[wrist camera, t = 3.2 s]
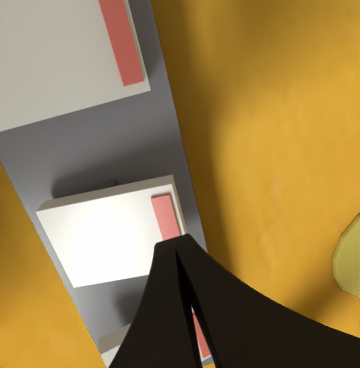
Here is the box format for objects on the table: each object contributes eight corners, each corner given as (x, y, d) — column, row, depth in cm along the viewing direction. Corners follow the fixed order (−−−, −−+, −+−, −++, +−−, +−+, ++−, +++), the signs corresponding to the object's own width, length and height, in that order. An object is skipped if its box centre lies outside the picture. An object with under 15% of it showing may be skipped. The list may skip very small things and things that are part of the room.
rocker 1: (-8, 131, 10) (-16, 136, 9) (-79, -8, 9) (-98, -20, 8) (144, 89, 12) (151, 90, 11) (111, -35, 10) (116, -49, 9)
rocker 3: (122, 387, 17) (126, 407, 16) (98, 339, 15) (100, 357, 14) (210, 339, 18) (219, 354, 17) (197, 290, 17) (206, 303, 16)
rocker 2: (80, 273, 15) (72, 290, 14) (45, 200, 13) (33, 213, 12) (192, 253, 14) (193, 268, 13) (172, 174, 12) (172, 185, 11)
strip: (121, 353, 22) (121, 405, 19) (-72, -55, 11) (-153, -107, 8) (218, 321, 23) (234, 365, 19) (119, -93, 12) (118, -155, 9)
